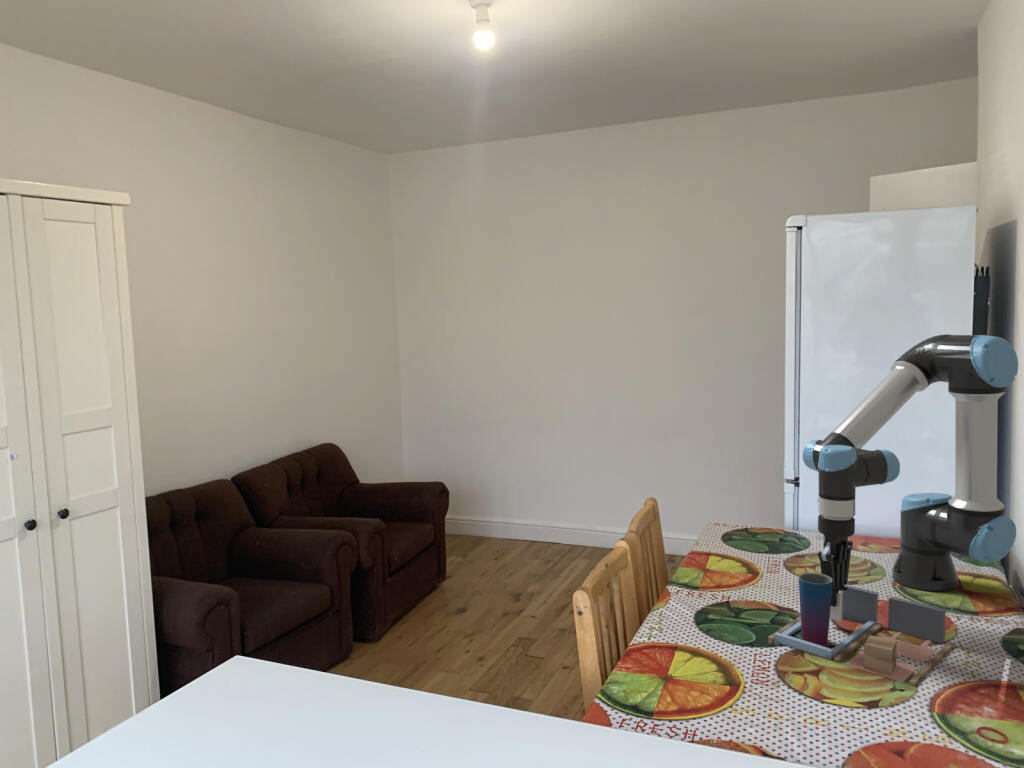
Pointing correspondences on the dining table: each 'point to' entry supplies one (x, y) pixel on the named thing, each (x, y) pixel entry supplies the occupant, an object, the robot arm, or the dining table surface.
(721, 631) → the dining table surface
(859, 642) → the lane guides
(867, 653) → the walnut cube
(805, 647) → the frame
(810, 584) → the cup
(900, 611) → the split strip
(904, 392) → the robot arm
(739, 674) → the dining table surface
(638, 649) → the dining table surface
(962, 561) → the dining table surface
